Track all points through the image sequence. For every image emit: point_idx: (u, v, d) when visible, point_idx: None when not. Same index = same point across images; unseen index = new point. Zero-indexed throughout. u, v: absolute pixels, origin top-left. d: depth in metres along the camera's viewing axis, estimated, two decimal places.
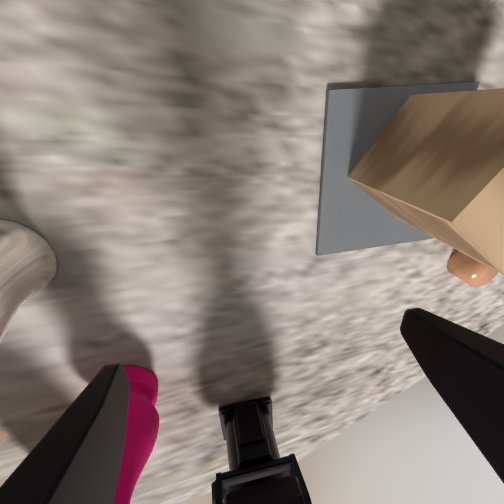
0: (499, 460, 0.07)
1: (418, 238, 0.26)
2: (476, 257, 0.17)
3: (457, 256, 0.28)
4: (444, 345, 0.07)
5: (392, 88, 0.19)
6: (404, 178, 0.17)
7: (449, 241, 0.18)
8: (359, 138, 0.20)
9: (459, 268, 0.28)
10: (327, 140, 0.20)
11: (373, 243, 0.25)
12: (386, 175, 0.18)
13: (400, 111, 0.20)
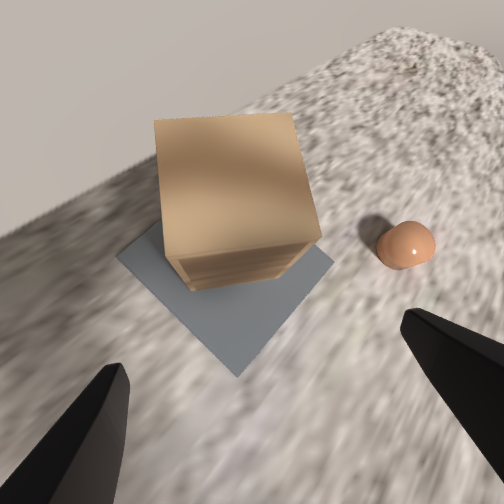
0: (499, 460, 0.07)
1: (320, 274, 0.22)
2: (291, 250, 0.14)
3: (381, 253, 0.23)
4: (444, 345, 0.07)
5: None
6: None
7: (272, 260, 0.15)
8: None
9: (394, 259, 0.22)
10: (146, 283, 0.21)
11: (282, 316, 0.21)
12: None
13: None
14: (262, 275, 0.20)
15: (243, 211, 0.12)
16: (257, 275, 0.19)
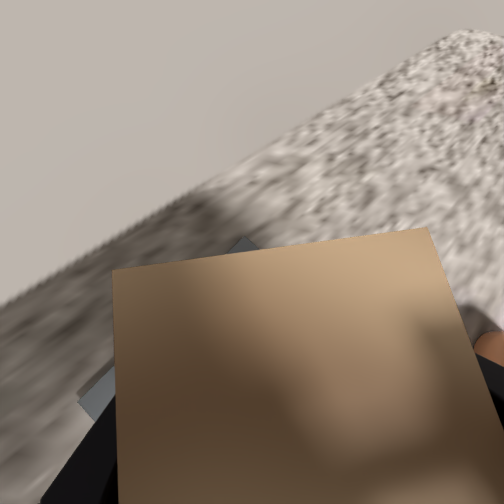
0: None
1: None
2: None
3: None
4: None
5: None
6: None
7: None
8: None
9: None
10: None
11: None
12: None
13: None
14: None
15: None
16: None
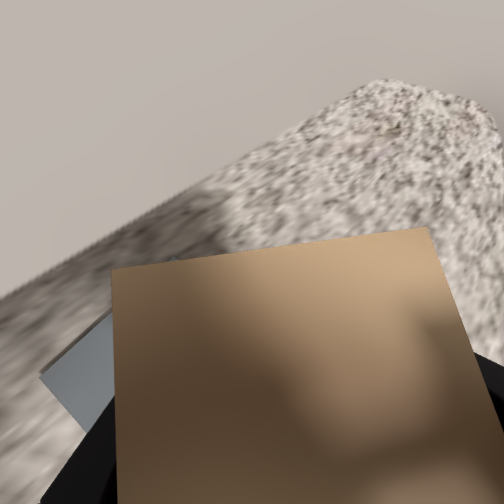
0: None
1: None
2: None
3: None
4: None
5: (99, 324, 0.19)
6: None
7: None
8: (104, 380, 0.19)
9: None
10: (72, 410, 0.18)
11: None
12: None
13: None
14: None
15: None
16: None
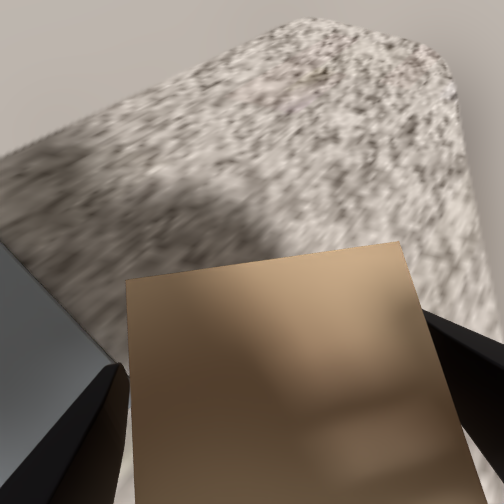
0: (499, 460, 0.07)
1: None
2: None
3: None
4: (444, 345, 0.07)
5: None
6: None
7: None
8: None
9: None
10: None
11: None
12: None
13: None
14: None
15: None
16: None
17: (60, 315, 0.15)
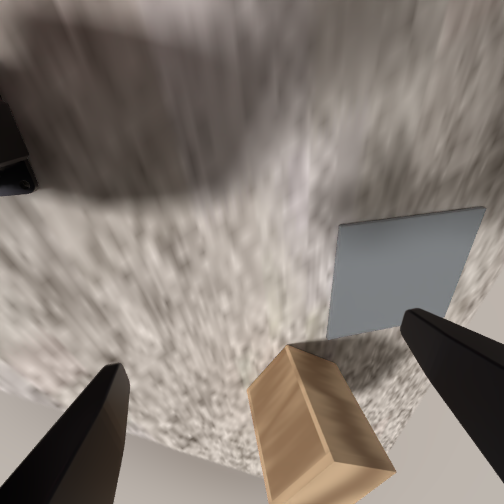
0: (499, 460, 0.07)
1: (331, 326, 0.26)
2: (273, 478, 0.21)
3: None
4: (444, 345, 0.07)
5: (466, 258, 0.25)
6: (318, 398, 0.22)
7: (273, 450, 0.22)
8: (442, 242, 0.23)
9: None
10: (451, 214, 0.22)
11: (338, 285, 0.23)
12: (309, 381, 0.23)
13: (328, 362, 0.28)
14: (260, 400, 0.26)
15: (317, 491, 0.19)
16: (264, 400, 0.25)
17: (385, 327, 0.27)
